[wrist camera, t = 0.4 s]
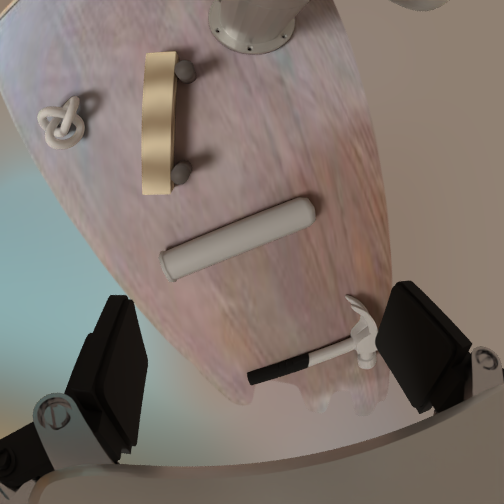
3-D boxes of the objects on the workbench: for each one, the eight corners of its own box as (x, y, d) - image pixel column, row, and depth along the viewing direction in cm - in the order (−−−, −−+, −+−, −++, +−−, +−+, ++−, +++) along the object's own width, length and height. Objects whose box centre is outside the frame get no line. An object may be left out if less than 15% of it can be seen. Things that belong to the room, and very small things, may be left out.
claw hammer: (263, 407, 62) (381, 365, 60) (227, 352, 52) (377, 298, 50) (261, 390, 67) (373, 350, 65) (226, 333, 57) (366, 283, 55)
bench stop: (152, 59, 33) (143, 50, 27) (197, 57, 34) (195, 47, 28) (148, 188, 41) (139, 198, 36) (191, 187, 42) (188, 197, 37)
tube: (312, 190, 41) (155, 254, 42) (325, 224, 42) (169, 286, 43) (304, 192, 46) (164, 249, 47) (316, 223, 47) (177, 278, 48)
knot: (99, 133, 36) (84, 136, 31) (60, 156, 36) (42, 162, 31) (84, 91, 33) (68, 89, 28) (46, 116, 33) (27, 118, 28)
